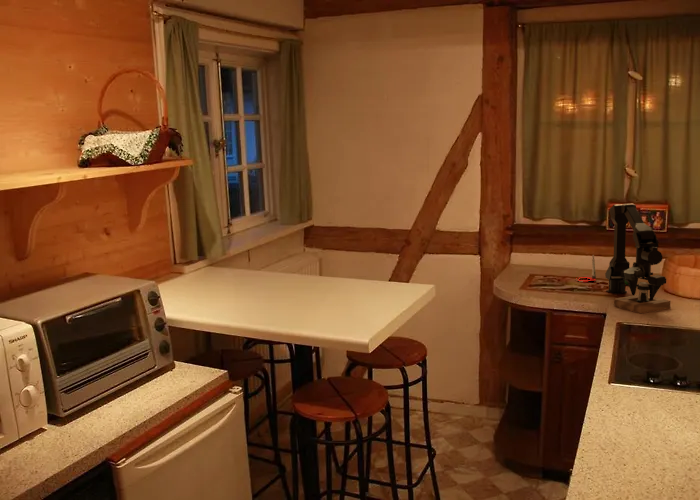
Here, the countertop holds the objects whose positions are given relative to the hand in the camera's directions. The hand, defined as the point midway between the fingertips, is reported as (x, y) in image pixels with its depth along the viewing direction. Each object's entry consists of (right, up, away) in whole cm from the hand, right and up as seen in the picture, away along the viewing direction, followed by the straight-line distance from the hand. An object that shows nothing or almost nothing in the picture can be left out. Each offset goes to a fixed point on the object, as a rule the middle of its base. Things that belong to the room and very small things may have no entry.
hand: (642, 297), depth 272 cm
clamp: (+11, +4, +44) cm, 46 cm away
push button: (0, -4, +1) cm, 4 cm away
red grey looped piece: (-5, +4, +51) cm, 51 cm away
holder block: (0, -4, +1) cm, 4 cm away
